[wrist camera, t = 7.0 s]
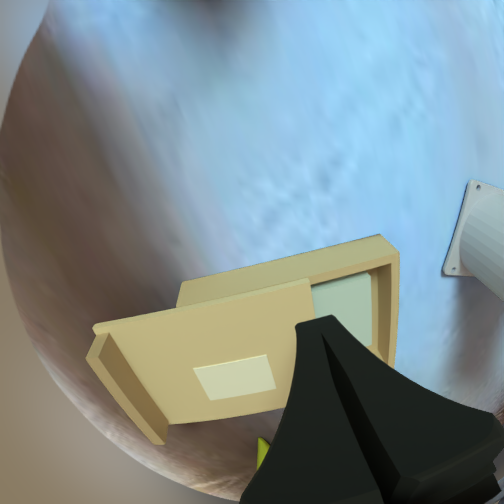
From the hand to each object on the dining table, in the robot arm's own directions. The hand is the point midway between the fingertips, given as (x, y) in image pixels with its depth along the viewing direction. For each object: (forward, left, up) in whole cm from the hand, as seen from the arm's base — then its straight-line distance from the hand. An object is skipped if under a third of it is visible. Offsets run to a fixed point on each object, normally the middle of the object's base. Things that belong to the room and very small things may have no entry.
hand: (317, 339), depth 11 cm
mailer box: (-2, +7, -10) cm, 13 cm away
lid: (+3, +9, -7) cm, 12 cm away
